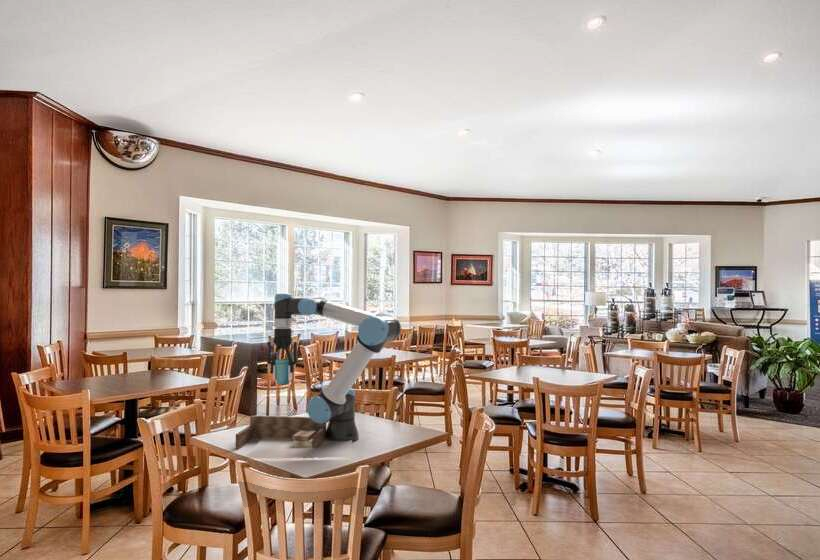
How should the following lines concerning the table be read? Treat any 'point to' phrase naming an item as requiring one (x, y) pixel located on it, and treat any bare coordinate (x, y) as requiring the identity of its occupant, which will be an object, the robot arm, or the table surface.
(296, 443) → the offcut middle
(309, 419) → the tray
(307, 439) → the offcut top
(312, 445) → the offcut bottom
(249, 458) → the table surface
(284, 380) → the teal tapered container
